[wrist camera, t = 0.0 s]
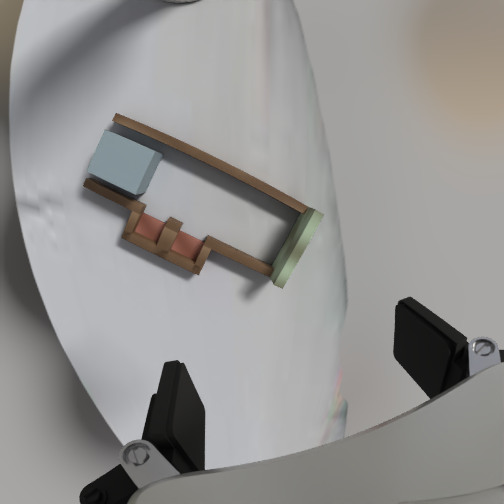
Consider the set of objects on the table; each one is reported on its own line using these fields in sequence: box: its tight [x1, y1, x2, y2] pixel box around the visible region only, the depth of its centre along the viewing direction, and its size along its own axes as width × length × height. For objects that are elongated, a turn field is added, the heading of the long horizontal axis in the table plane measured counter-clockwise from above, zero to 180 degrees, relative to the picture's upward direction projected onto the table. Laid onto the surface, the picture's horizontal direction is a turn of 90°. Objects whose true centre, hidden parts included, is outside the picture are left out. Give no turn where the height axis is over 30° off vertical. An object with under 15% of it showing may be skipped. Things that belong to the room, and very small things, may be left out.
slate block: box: [87, 130, 163, 195], centre depth 34 cm, size 6×8×5 cm
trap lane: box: [83, 113, 324, 289], centre depth 37 cm, size 16×32×5 cm, turn 62°
